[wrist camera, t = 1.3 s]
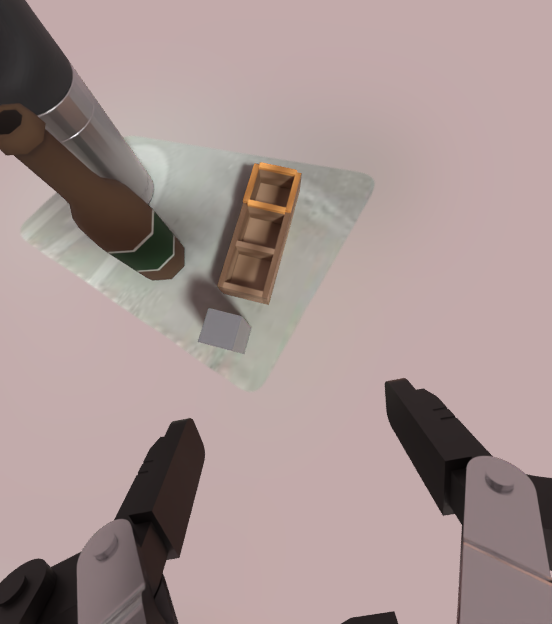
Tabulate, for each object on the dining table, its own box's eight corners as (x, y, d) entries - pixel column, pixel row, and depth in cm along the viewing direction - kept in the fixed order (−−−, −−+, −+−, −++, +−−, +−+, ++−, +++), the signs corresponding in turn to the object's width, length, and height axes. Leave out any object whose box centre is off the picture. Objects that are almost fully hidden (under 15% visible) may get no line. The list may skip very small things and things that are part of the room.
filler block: (218, 347, 38) (197, 341, 29) (225, 321, 39) (208, 307, 30) (244, 353, 38) (232, 350, 29) (251, 327, 39) (242, 316, 29)
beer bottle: (151, 230, 42) (-15, 62, 18) (195, 245, 41) (81, 89, 18) (130, 274, 41) (-76, 151, 17) (176, 289, 40) (26, 184, 16)
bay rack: (223, 293, 40) (216, 284, 35) (258, 178, 43) (256, 157, 39) (268, 304, 39) (267, 297, 35) (300, 187, 43) (302, 167, 39)
